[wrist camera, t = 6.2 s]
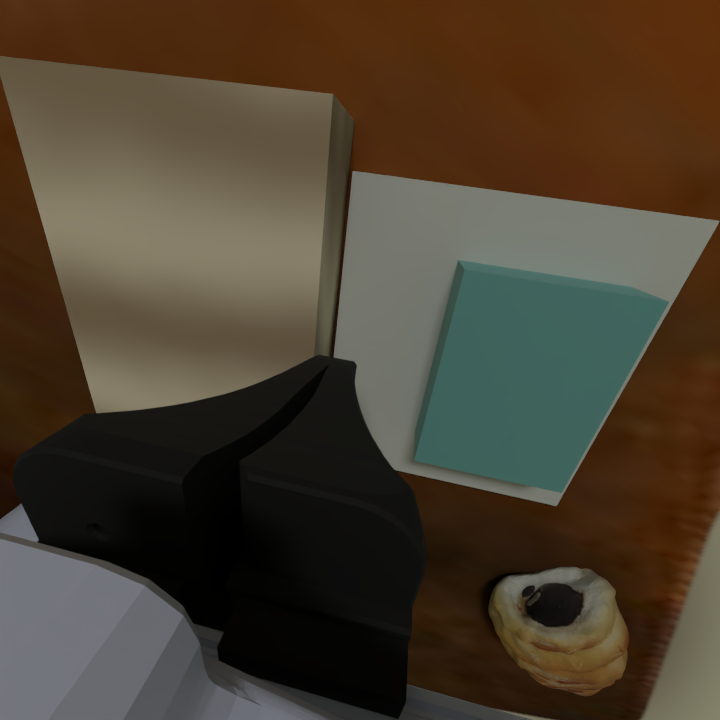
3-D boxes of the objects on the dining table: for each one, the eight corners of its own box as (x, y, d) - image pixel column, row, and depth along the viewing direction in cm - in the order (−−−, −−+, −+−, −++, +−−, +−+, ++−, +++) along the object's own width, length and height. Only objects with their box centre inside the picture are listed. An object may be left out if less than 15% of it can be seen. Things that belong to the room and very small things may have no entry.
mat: (553, 499, 16) (556, 506, 16) (325, 449, 18) (323, 454, 17) (709, 220, 11) (720, 220, 10) (354, 171, 12) (352, 170, 11)
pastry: (620, 653, 21) (657, 740, 18) (509, 652, 23) (523, 729, 20) (601, 556, 18) (643, 639, 14) (475, 565, 20) (485, 639, 17)
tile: (414, 460, 14) (415, 431, 16) (561, 492, 13) (545, 458, 15) (464, 269, 10) (458, 259, 12) (669, 301, 10) (631, 286, 11)
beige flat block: (319, 468, 18) (302, 514, 16) (155, 431, 19) (112, 468, 17) (354, 120, 11) (333, 94, 8) (89, 88, 12) (-6, 55, 9)
